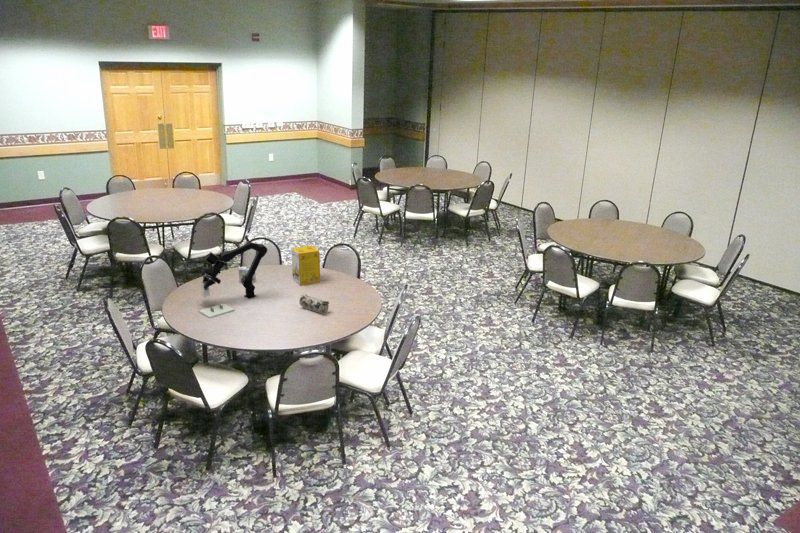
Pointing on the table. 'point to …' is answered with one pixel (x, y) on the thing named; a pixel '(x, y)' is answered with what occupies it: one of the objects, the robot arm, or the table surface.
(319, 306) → the pencil case
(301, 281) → the packaging box
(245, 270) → the light bulb box
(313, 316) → the table surface
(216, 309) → the pin tray
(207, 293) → the block
